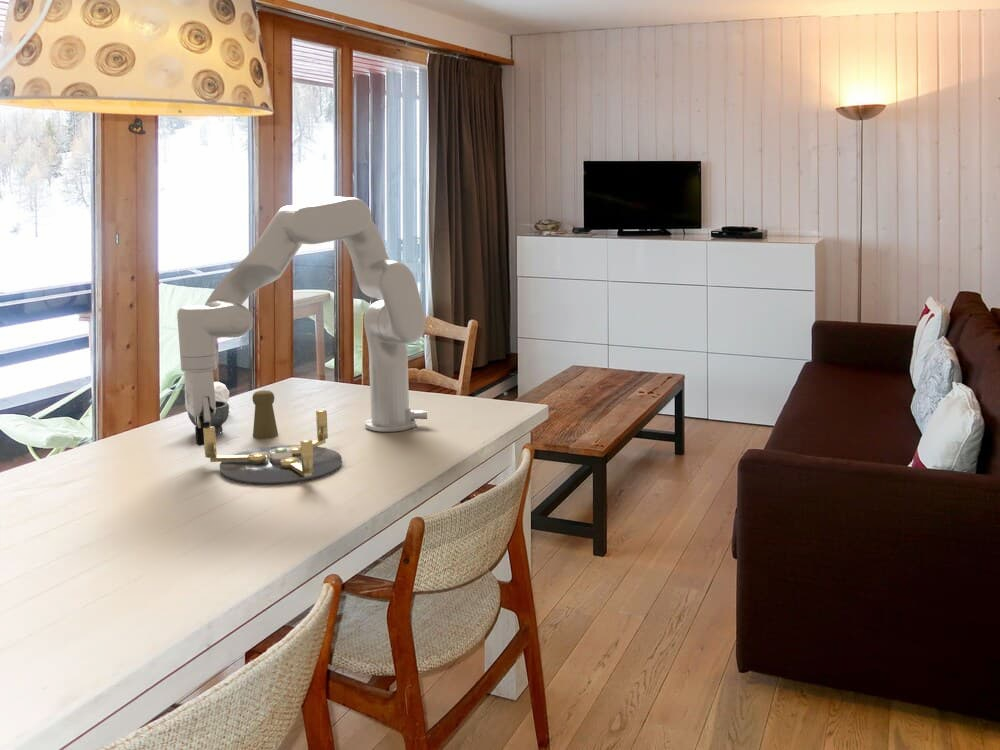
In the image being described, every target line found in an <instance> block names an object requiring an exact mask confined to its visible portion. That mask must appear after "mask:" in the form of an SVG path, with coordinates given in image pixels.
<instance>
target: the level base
mask: <svg viewBox="0 0 1000 750" xmlns="http://www.w3.org/2000/svg"><path fill="white" fill-rule="evenodd" d="M295 446H301V444H300V445H299V444H287V445H284V444H283V445H271V446H265V447H264V446H263V447H258V448H252V449H249V450H247V449H246V450H243V451H240V452H236V453H234V454H233V455H249V454H252V453H266V454H267V461H265V462H262V463H250V462H249V461H230V462H219V474H220V475H221V476H222V478H224V479H226V480H227V481H228V480H229V481H231V482H234V483H239V484H244V483H245V484H246V485H255V486H258V485H259V486H264V485H265V486H274V485H275V486H278V485H287V484H288V485H290V484H297V482H299V483H304V482H308V481H309V480H310V481H313V479H314V480H318V479H320V477H321V478H325V477H327V476H329V475H332V474H334V473H336V472H337V471H338V470H339V469H340V468H341V467H342V465H343V460H342V458H343V457H342V455H341V454H340V453H339V452H338V451H336V450H333V449H331V448H327V447H321V446H317V447H314V448H313V463H314V472H312V476H307V477H304V476H302V475H301V474H299V473H298V472H296V471H294V470H293V469H291V468H282V467H281V466H280V460H281V459H283V458H288V457H293V451H292V449H290V448H289V447H295ZM295 458H299V464H300V465H302V462H301V456H296V457H295ZM336 470H337V471H336ZM331 473H332V474H331ZM328 474H329V475H328ZM326 475H327V476H326ZM317 478H318V479H317Z"/></svg>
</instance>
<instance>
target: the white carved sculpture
mask: <svg viewBox="0 0 1000 750" xmlns="http://www.w3.org/2000/svg"><path fill="white" fill-rule="evenodd" d="M214 389H215V401H223V402H226V403H228V401H229V400H230V390H229V389H228V388H227V386H226V384H224V383H222V382H220V381H214Z"/></svg>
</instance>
